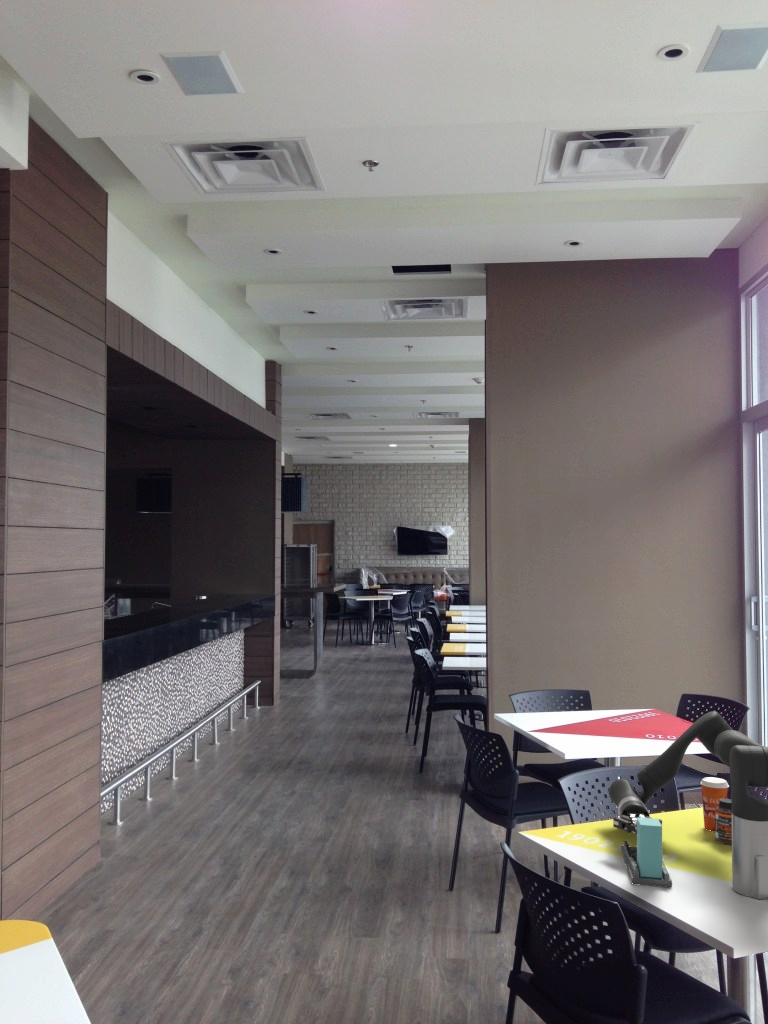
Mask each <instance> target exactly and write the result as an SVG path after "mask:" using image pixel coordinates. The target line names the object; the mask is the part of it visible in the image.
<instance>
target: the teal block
mask: <svg viewBox="0 0 768 1024" xmlns="http://www.w3.org/2000/svg"><path fill="white" fill-rule="evenodd" d="M658 819H659V818H653V817H651V818H638V817H637V835H636V847H637V867H638V870H639V874H640V876H641V877H653V878H662V860H663V824H662V825H661V823H660V822H659V820H658Z"/></svg>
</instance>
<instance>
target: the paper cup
mask: <svg viewBox="0 0 768 1024" xmlns="http://www.w3.org/2000/svg"><path fill="white" fill-rule="evenodd" d="M700 785H701V797H702V798H701V799H702V810H703V825H704V830H706V829H707V830H706V831H708V830H711V831H710V832H712V831H715V810H716V807H718V806H719V799H728V788H730V785H729V783H728V782H727V780H725V779H724V778H719V777H712V776H709V777H708V776H707V777H704V778H702V779H701V781H700Z"/></svg>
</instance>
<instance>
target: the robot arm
mask: <svg viewBox="0 0 768 1024" xmlns="http://www.w3.org/2000/svg"><path fill="white" fill-rule="evenodd" d="M695 739H697V740H699V742H700V743H701V744H702V745H703V747H704V748H706V750H707V751H708V752H709V753H710V754H711V755H712V756H715V757H717V758H718V759H719V760H720V761H721V762H722V763H723V764H724V765H725V766H727V767H729V776H730V799H731V803H732V845H731V870H732V871H731V873H732V877H731V879H732V880H731V881H732V883H731V885H732V886H731V887H732V890H733V891H735V892H737V893H739V894H740V895H743V896H746V897H750V898H755V899H757V900H764V899H768V801H766V800H763V799H761V798H759V797H756V796H754V795H752V794H751V793H750V792H749V789H748V787H753V788H768V746H765V745H761V744H760V743H758V742H756V741H754V740H753V739H752V738H750V737H749V736H748V735H746V734H744V733H742V732H741V731H738V730H734V729H733V728H732V726H730V724H729V723H728V722H727V721H726V720H725V719H724V718H723V716H722V715H721V714H720V713H719V712H718V711H715V710H713V711H709V712H707V713H705V714H703V715H702V716H700V717H699V718H697V719H696V720H695V721H694V722H693V723H692V724H691V725H690V726H689V727H688V728H687V729H686V730H685V731H684V732H683V733H681V735H679V737H678V738H677V739H676V740H675V741H673V742H672V743H671V745H669V746H668V748H666V750H664V752H662V753H661V754H660V755H659V756H658V757H656V759H654V760H653V761H652V762H650V763H649V764H647V765H646V766H645V767H643V768H642V769H641V770H639V771H638V773H637V775H636V778H637V780H638V781H639V784H640V786H641V788H642V790H641V792H640V793H639V792H638V791H637V790H636V788H635V787H634V785H632V784H631V782H629V780H627V779H624V778H618V779H616V780H614V781H613V782H612V783H611V784H610V786H609V789H608V795H609V797H610V799H611V800H612V802H613V803H614V805H615V806H616V808H617V811H618V816H613V818H612V819H613V820H612V826H613V827H614V828H616V829H619V830H620V831H624V832H625V833H633V834H634V835H635V836H637V817H638V818H652V816H650V813H649V811H648V809H647V807H646V805H647V804H648V803H649V801H650V800H651V798H652V797H653V796H654V795H655V794H656V793H657V792H658V791H659V790H661V789H662V788H664V787H665V786H667V784H669V783H670V782H672V781H673V779H674V778H675V777H677V774H678V772H679V771H680V768H681V766H682V762H683V761H684V760H683V759H684V757H685V754H686V752H687V749H688V748H689V746H690V745H691V743H692V742H694V741H695ZM657 819H658V820H659V822H660V823H661V825H662V826H663V820H662V819H660V818H657Z"/></svg>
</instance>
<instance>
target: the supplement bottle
mask: <svg viewBox="0 0 768 1024" xmlns="http://www.w3.org/2000/svg"><path fill="white" fill-rule="evenodd" d="M714 833H715V834H714V838H715V840H716V842H717V843H720V844H722V843H723V845H726V844H730V845H729V846H732V803H731V798H727V799H719V806H718V807H716V810H715V832H714Z"/></svg>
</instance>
